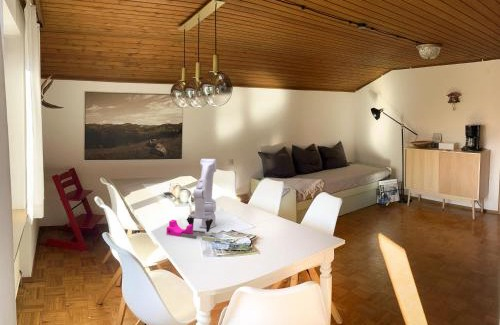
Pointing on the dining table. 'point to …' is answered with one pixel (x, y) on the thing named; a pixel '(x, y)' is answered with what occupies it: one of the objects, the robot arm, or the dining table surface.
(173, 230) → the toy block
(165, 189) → the dining table surface
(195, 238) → the channel
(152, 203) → the dining table surface
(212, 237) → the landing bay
